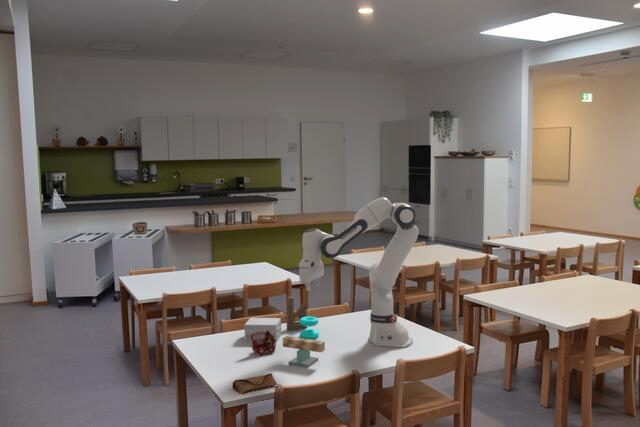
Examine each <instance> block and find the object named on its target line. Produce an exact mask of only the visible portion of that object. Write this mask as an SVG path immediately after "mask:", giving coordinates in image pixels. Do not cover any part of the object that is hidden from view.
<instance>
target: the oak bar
mask: <svg viewBox="0 0 640 427" xmlns="http://www.w3.org/2000/svg"><path fill="white" fill-rule="evenodd" d="M325 344H326V343H325V341H323V340H315V339H303V338H301V337H295V336H287V335H286V336H284V337H282V347H284V348H288V349H289V348H291V349H295V350H299V349H301V350H308V351H310V352H315V353H323V352H324V351H325V350H326V347H325Z"/></svg>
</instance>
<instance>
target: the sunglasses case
mask: <svg viewBox="0 0 640 427" xmlns="http://www.w3.org/2000/svg"><path fill="white" fill-rule="evenodd" d="M275 385H278V383H277V382H276V380H275V378H274V375H273V373H271V372H270V373H267V374H264V375H257V376H251V377H248V378H242V379H235V380H234V381H233V382H232V389H233V390H234V391H236V393H237V392H238V393H237V394H238V395H240V394H242V395H245V394H248V392H249V393H252V391H253V392H256V391H257V390H258V391H262V390H266V388H267V389H272V388H276V387H275Z"/></svg>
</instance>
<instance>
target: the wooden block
mask: <svg viewBox="0 0 640 427" xmlns="http://www.w3.org/2000/svg"><path fill="white" fill-rule="evenodd" d="M294 303H295V302H294V296H287V297H286V308H287V309H286V310H287V311H286V313H287V316H286V318H287V322H286V330H287V331H296V330H304V329H308V327H306V326H303V325H301V324H300V322H299V321H300V319H301V318H303V317H307V316H308V313H307V312H308V310H307V306H308V305H307V302H305V301H303V303H302V304H301V305H300V306H299V308H297V309H296V311H295V309H294V308H295V306H294ZM295 318H298V321H295Z"/></svg>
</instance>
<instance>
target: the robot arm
mask: <svg viewBox="0 0 640 427" xmlns="http://www.w3.org/2000/svg"><path fill="white" fill-rule="evenodd" d="M416 215H417V214H416V211H415V209H414V208H413V207H412V206H411V205H409V204H408V203H405V202H398V201H397V202H396V201H395V202H391V200H389V199H388V198H387V197H385V196H382V197H379V198H377V199H375V200H372V201H370V202H369V203H367V204H366V205H364V206H363V207H361V209H359V210H358V211H357V212H356V213H355V215H354V218H353V221H352V223H351V224H350V225H349V226H347V227H346V228H345V229H344V230H342V231H341V232H340V233H339V234H337V235H333V234H332V233H331V234H329V233H326V232H324V231H321V230H320V229H318V228H317V227H316V228H310V229H306V230H305V231H304V232H303V234H302V250H303V252H302V253H303V254H302V258H301V260H300V262H298V268H299V269H298V270H299V271H298V272H299V276H298V277H299V281H300V283H301V284H304V286H305V289H306V291H307V292H310V291H311V288H312V287H311V286H310V284H311V283H312V282H313V281H315V282H314V287H316V288H317V287H319V286H320V281H321V278H322V277H324V275H325V266H324V262H322V258H321V257H322V256H321V255H323V256H324V257H325V258H327V259H334V258H336V257H338V256H339V255H340V254H341V252H342V251H343V249H344V248H345V246H347V245H348V244H349V243H351V242H352V241H353V240H355V239H356V238H357V237H359V236H361V234H363V233H365V232H367V231H369V230H371V229H373V228H374V227H376V226H377V225H379V224H380V223H382V222H383V221H384V220H388V219H389V220H390V221H392V223H394V224H396V226H397V228H396V231H395V233H394V235H393V236H392V238H391V239H390V241H389V243H388V244H387V246H386V247H385V249H384V252H383V255H382V257H381V260H380V261H379V262H375V263H373V264H372V265H371V266H370V267H369V271H368V276H369V277H368V279H369V289H370V290H369V291H370V300H371V302H370V304H371V305H370V307H371V309H370V310H371V312H370V316H369V320H370V331H369V336H368V341H369V342H370V343H371V344H372V345H374V346H378V347H379V346H380V347H391V348H392V347H393V348H406V347H410V345H412V344H413V342H414V338H412V337H410V336H409V331H408V329H407V328H406V327H405V326H404V325H403V324H401V322H399V321H398V315H399V314H397V313H396V314H395V313H394V297H393V289H392V288H393V287H394V286H395V284H396V281H397V278H398V276H399V273H400V271H401V268H402V266H403V264H404V263H405V260H406V259H407V257H408V255H409V254H410V252H411V251H412V250H413V247H414V246H415V244H416V241H417V239H418V236H419V234H420V233H419V232H420V229H419V228H418V226H417V225H416Z"/></svg>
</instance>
